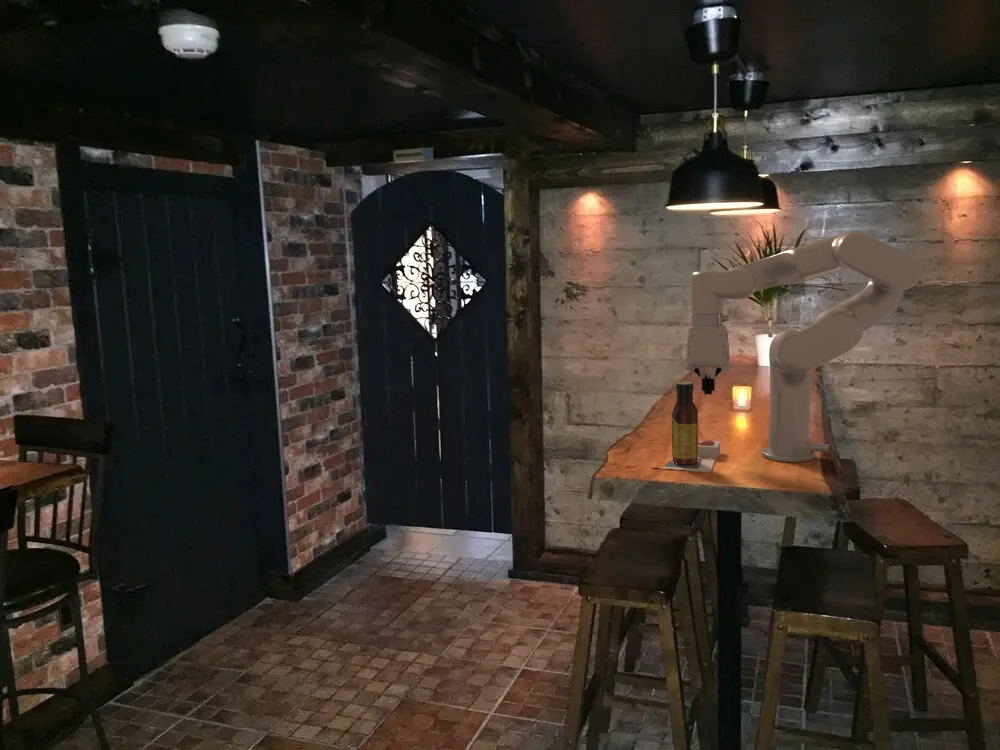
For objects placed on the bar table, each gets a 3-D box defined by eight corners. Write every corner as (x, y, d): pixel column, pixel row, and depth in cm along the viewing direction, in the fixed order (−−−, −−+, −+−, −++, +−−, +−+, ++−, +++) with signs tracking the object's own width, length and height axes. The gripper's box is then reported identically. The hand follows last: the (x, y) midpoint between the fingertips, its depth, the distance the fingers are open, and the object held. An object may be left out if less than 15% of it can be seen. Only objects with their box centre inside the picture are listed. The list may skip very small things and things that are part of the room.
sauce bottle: (679, 458, 206) (680, 379, 203) (702, 461, 202) (703, 381, 199) (666, 463, 201) (667, 382, 198) (690, 467, 197) (691, 385, 194)
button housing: (719, 452, 212) (720, 441, 212) (717, 459, 205) (717, 447, 205) (692, 451, 214) (692, 439, 214) (688, 457, 208) (689, 445, 207)
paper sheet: (715, 460, 205) (715, 458, 205) (710, 472, 194) (710, 470, 193) (658, 456, 209) (658, 455, 209) (650, 468, 198) (650, 467, 198)
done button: (713, 451, 211) (713, 439, 211) (712, 454, 207) (712, 443, 207) (697, 450, 212) (697, 438, 212) (695, 454, 209) (695, 442, 208)
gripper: (739, 318, 206) (740, 391, 208) (678, 320, 211) (680, 391, 213) (737, 321, 199) (738, 396, 201) (674, 322, 204) (676, 396, 206)
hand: (708, 393), depth 207 cm, fingers closed
